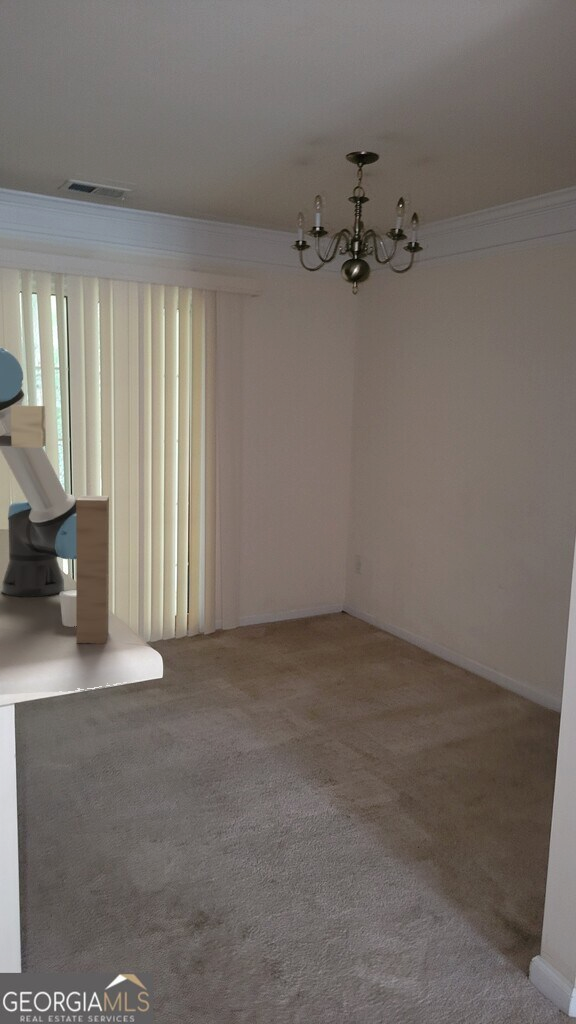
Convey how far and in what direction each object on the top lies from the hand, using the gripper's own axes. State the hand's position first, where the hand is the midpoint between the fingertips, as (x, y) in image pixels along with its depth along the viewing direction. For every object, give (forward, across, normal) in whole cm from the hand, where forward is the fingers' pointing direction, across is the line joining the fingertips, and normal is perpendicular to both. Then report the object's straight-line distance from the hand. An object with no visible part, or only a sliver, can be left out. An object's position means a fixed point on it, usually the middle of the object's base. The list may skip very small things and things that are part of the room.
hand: (3, 426), depth 151 cm
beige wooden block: (-2, 0, -3) cm, 4 cm away
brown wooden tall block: (-7, +1, -46) cm, 46 cm away
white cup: (-10, -10, -44) cm, 46 cm away
